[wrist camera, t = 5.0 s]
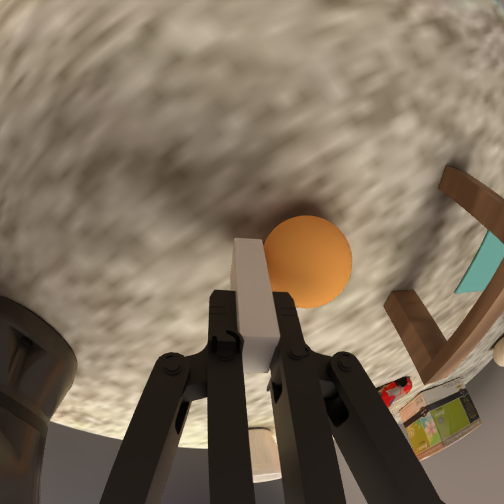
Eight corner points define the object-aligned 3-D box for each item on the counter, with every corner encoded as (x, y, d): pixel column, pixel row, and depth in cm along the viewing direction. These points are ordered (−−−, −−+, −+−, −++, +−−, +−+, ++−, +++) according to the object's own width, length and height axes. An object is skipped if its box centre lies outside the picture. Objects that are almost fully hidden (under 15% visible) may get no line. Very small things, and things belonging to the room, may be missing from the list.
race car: (412, 370, 38) (421, 389, 35) (404, 384, 41) (412, 402, 38) (338, 398, 38) (345, 420, 35) (336, 409, 41) (342, 429, 38)
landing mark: (454, 292, 26) (455, 293, 26) (501, 200, 19) (502, 201, 19) (498, 287, 28) (499, 288, 28) (536, 215, 21) (537, 216, 21)
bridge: (383, 306, 25) (424, 385, 18) (446, 165, 17) (534, 231, 9) (405, 304, 26) (446, 377, 18) (467, 173, 17) (547, 235, 10)
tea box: (397, 411, 51) (415, 463, 39) (421, 390, 45) (445, 448, 33) (438, 396, 54) (457, 441, 42) (461, 375, 48) (484, 423, 36)
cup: (285, 433, 45) (294, 476, 37) (235, 442, 46) (240, 484, 38) (273, 419, 39) (283, 471, 32) (214, 429, 40) (219, 479, 32)
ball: (242, 309, 17) (330, 338, 16) (254, 229, 14) (365, 263, 12) (268, 260, 21) (339, 282, 20) (281, 192, 18) (364, 216, 17)
